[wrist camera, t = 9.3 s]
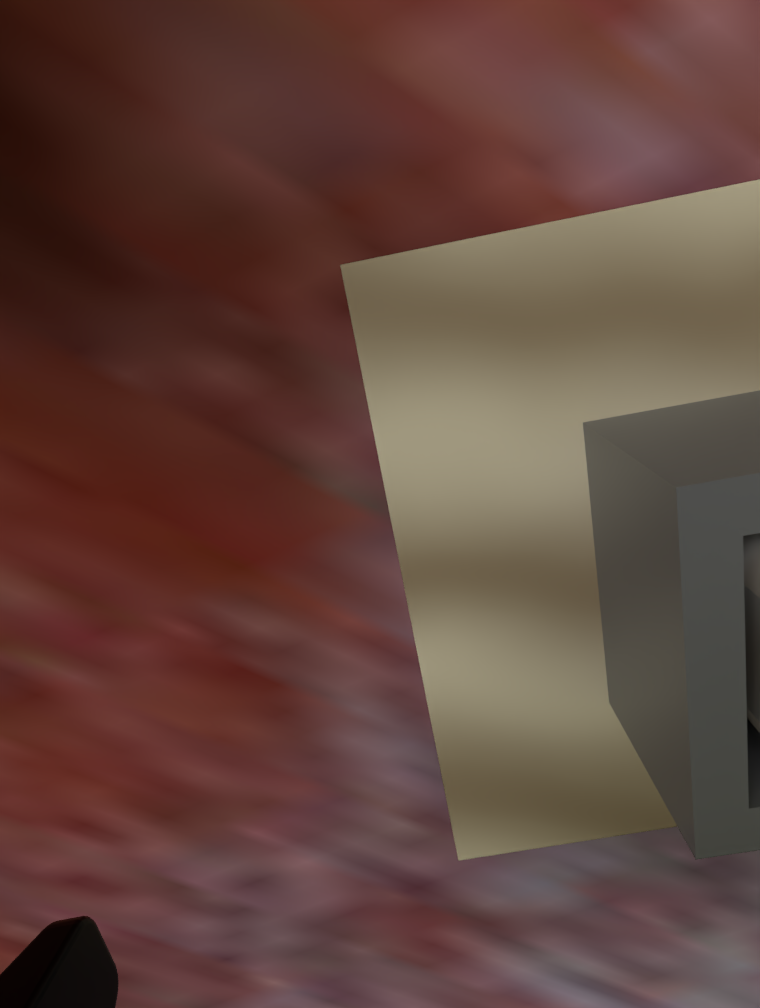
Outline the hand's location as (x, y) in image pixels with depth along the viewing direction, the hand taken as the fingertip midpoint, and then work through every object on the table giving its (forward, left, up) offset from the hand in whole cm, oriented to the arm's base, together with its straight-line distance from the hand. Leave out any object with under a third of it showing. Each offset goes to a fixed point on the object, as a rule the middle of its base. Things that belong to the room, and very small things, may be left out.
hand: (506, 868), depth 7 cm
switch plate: (+2, +6, -11) cm, 13 cm away
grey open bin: (+2, +6, -9) cm, 11 cm away
